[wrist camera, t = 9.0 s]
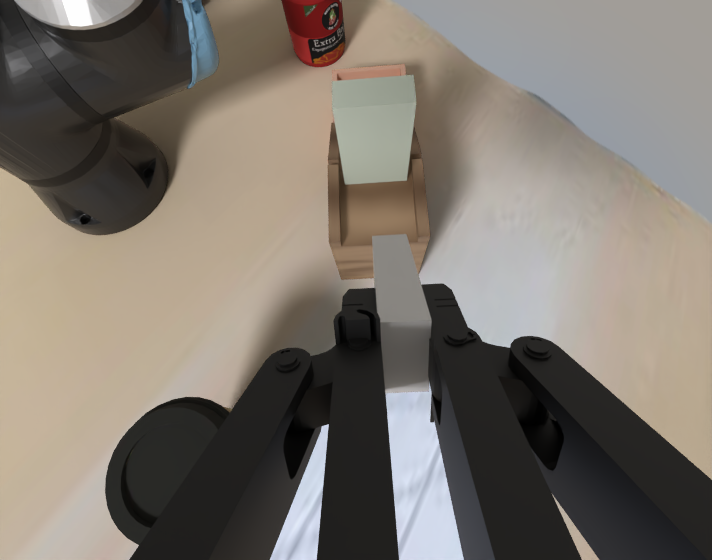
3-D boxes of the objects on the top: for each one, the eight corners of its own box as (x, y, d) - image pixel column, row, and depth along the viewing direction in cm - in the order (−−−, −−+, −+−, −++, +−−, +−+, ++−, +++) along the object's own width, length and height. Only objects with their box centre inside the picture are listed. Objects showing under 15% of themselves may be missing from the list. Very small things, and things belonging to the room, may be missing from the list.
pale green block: (406, 180, 36) (416, 102, 26) (344, 184, 36) (332, 108, 27) (404, 158, 37) (413, 74, 27) (344, 162, 37) (331, 81, 27)
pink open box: (408, 157, 48) (411, 131, 43) (338, 162, 49) (333, 136, 44) (402, 94, 51) (404, 63, 47) (336, 99, 52) (332, 69, 47)
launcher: (417, 275, 43) (430, 235, 33) (341, 279, 44) (328, 241, 33) (407, 156, 48) (414, 88, 38) (338, 161, 49) (326, 95, 38)
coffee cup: (270, 380, 41) (210, 372, 26) (306, 469, 38) (262, 513, 24) (187, 423, 40) (79, 438, 26) (218, 517, 37) (116, 593, 23)
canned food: (318, 77, 53) (303, -1, 43) (283, 48, 55) (260, -33, 45) (357, 47, 54) (351, -36, 44) (321, 20, 57) (308, -66, 46)
